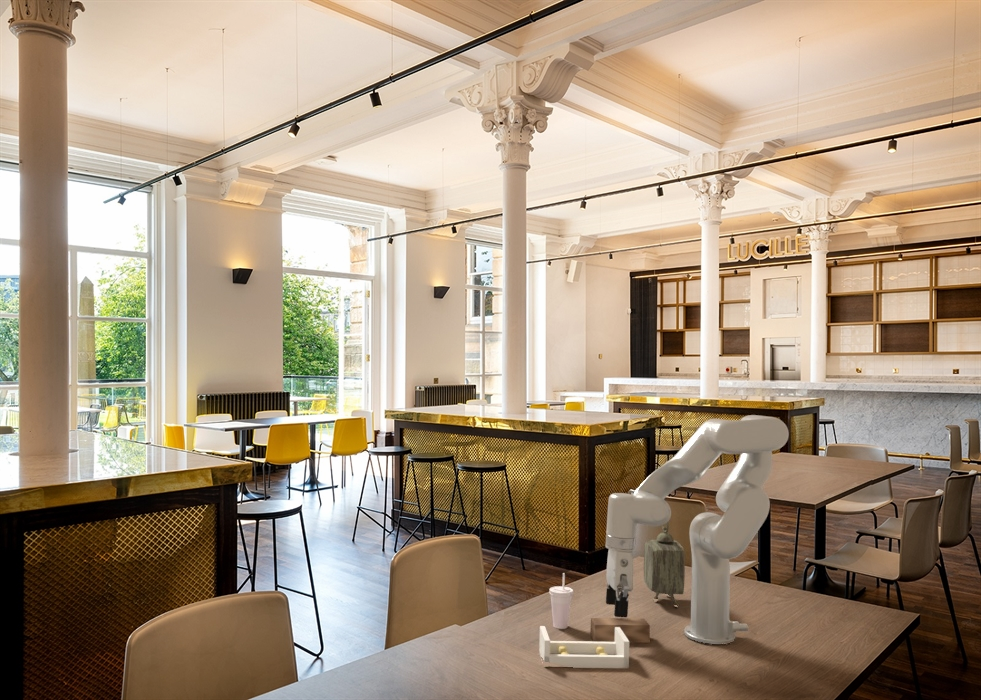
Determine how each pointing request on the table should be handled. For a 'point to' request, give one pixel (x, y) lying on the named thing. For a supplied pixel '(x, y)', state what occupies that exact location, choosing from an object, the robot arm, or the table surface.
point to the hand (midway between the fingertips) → (616, 610)
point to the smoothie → (560, 604)
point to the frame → (586, 651)
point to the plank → (630, 626)
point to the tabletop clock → (664, 565)
